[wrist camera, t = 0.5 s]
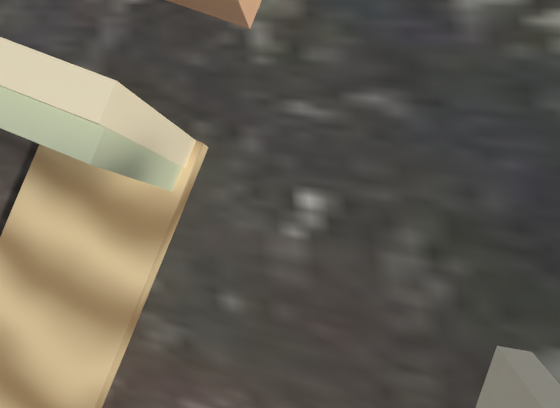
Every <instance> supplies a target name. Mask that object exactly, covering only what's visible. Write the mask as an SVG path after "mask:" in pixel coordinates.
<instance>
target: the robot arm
mask: <svg viewBox="0 0 560 408" xmlns="http://www.w3.org/2000/svg"><path fill="white" fill-rule="evenodd" d="M476 408H560V384H559V383H558V382H557V381H556V380H555V378H554V377H553V376H552V375H551V374H550V373H549V371H548V370H547V369H546V368H545V367H544V366H543V364H542V363H541V362H540V361H539V360H538V359H537V357H536V356H535V355H534V354H533V353H532V352H529V351H523V350H518V349H512V348H506V347H501V346H497V348H496V351H495V353H494V356H493V359H492V362H491V365H490V368H489V370H488V373H487V376H486V379H485V382H484V385H483V388H482V390H481V393H480V396H479V399H478V402H477V405H476Z"/></svg>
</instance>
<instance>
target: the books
mask: <svg viewBox="0 0 560 408" xmlns="http://www.w3.org/2000/svg"><path fill="white" fill-rule="evenodd" d="M0 128H2V129H4V130H6V131H9V132H11V133H14V134H16V135H19V136H21V137H24V138H26V139H29V140H31V141H33V142H36V143H38V144H41V145H43V146H46V147H48V148H51V149H53V150H56V151H58V152H61V153H63V154H65V155H68V156H70V157H73V158H75V159H78V160H80V161H83V162H85V163H88V164H90V165H93V166H96V167H99V168H102V169H105V170H108V171H111V172H114V173H117V174H120V175H123V176H126V177H129V178H132V179H136V180H139V181H142V182H145V183H148V184H151V185H154V186H157V187H160V188H163V189H166V190H169V191H172V190H173V188H174V186H175V183H176V181H177V178H178V176H179V173H180V171H181V169H182V167H184V168H185V166H186V164H187V161H188V159H189V157H190V154H191V152H192V149H193V147H194V144H195V142H196V140H195V139H193V138H192V137H191V136H189V135H188V134H187V133H185V132H184V131H183V130H181V129H180V128H179V127H177V126H176V125H175V124H173V123H172V122H171V121H169V120H168V119H167V118H165V117H164V116H163V115H161V114H160V113H159V112H157V111H156V110H155V109H153V108H152V107H151V106H149V105H148V104H147V103H145V102H144V101H143V100H141V99H140V98H139V97H137V96H136V95H135V94H133V93H132V92H131V91H129V90H128V89H127V88H125V87H124V86H123V85H121V84H120V83H119V82H117V81H116V80H113V79H110V78H108V77H105V76H102V75H100V74H97V73H95V72H92V71H89V70H87V69H84V68H81V67H79V66H76V65H73V64H71V63H68V62H65V61H63V60H60V59H57V58H55V57H52V56H49V55H47V54H44V53H41V52H39V51H36V50H33V49H31V48H28V47H25V46H23V45H20V44H17V43H15V42H12V41H9V40H7V39H4V38H1V37H0Z"/></svg>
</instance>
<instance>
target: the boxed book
mask: <svg viewBox="0 0 560 408" xmlns="http://www.w3.org/2000/svg"><path fill="white" fill-rule="evenodd" d="M167 1H170V2H172V3H175V4H178V5H181V6H184V7H187V8H190V9H193V10H196V11H199V12H201V13H204V14H207V15H210V16H213V17H216V18H219V19H222V20H225V21H228V22H230V23H233V24H236V25H239V26H242V27H245V28H248V29H250V27H251V25H252V23H253V20H254V18H255V15H256V13H257V10H258V8H259V5H260V3H261V1H262V0H167Z"/></svg>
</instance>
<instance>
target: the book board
mask: <svg viewBox="0 0 560 408" xmlns="http://www.w3.org/2000/svg"><path fill="white" fill-rule="evenodd" d="M207 150H208V147H207V146H206V145H204V144H203V143H201V142H198V141H196V142H195V144H194V147H193V149H192V152H191V154H190V157H189V159H188V161H187V164H186V166H185V168H184V167H182V169H181V171H180V173H179V176H178V178H177V181H176V183H175V186H174V188H173V190H172V191H169V190H166V189H163V188H160V187H157V186H154V185H151V184H148V183H145V182H142V181H139V180H136V179H132V178H129V177H126V176H123V175H120V174H117V173H114V172H111V171H108V170H105V169H102V168H99V167H96V166H93V165H90V164H88V163H85V162H83V161H80V160H78V159H75V158H73V157H70V156H68V155H65V154H63V153H61V152H58V151H56V150H53V149H51V148H48V147H46V146H43V145H41V144H39V147H38V149H37V151H36V154H35V156H34V158H33V161H32V163H31V165H30V168H29V170H28V173H27V175H26V177H25V180H24V182H23V184H22V187H21V189H20V191H19V194H18V196H17V199H16V201H15V203H14V206H13V208H12V210H11V213H10V215H9V217H8V220H7V222H6V225H5V227H4V229H3V232H2V234H1V236H0V408H102V407H103V404H104V402H105V399H106V397H107V395H108V392H109V390H110V387H111V385H112V382H113V380H114V377H115V375H116V373H117V370H118V368H119V365H120V363H121V360H122V358H123V355H124V353H125V350H126V348H127V346H128V343H129V341H130V338H131V336H132V333H133V331H134V328H135V326H136V324H137V321H138V319H139V316H140V314H141V311H142V309H143V306H144V304H145V302H146V299H147V297H148V294H149V292H150V289H151V287H152V284H153V282H154V280H155V277H156V275H157V272H158V270H159V267H160V265H161V262H162V260H163V258H164V255H165V253H166V250H167V248H168V245H169V243H170V240H171V238H172V236H173V233H174V231H175V228H176V226H177V223H178V221H179V218H180V216H181V214H182V211H183V209H184V206H185V204H186V201H187V199H188V196H189V194H190V192H191V189H192V187H193V184H194V182H195V179H196V177H197V174H198V172H199V170H200V167H201V165H202V162H203V160H204V157H205V155H206V152H207Z"/></svg>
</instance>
